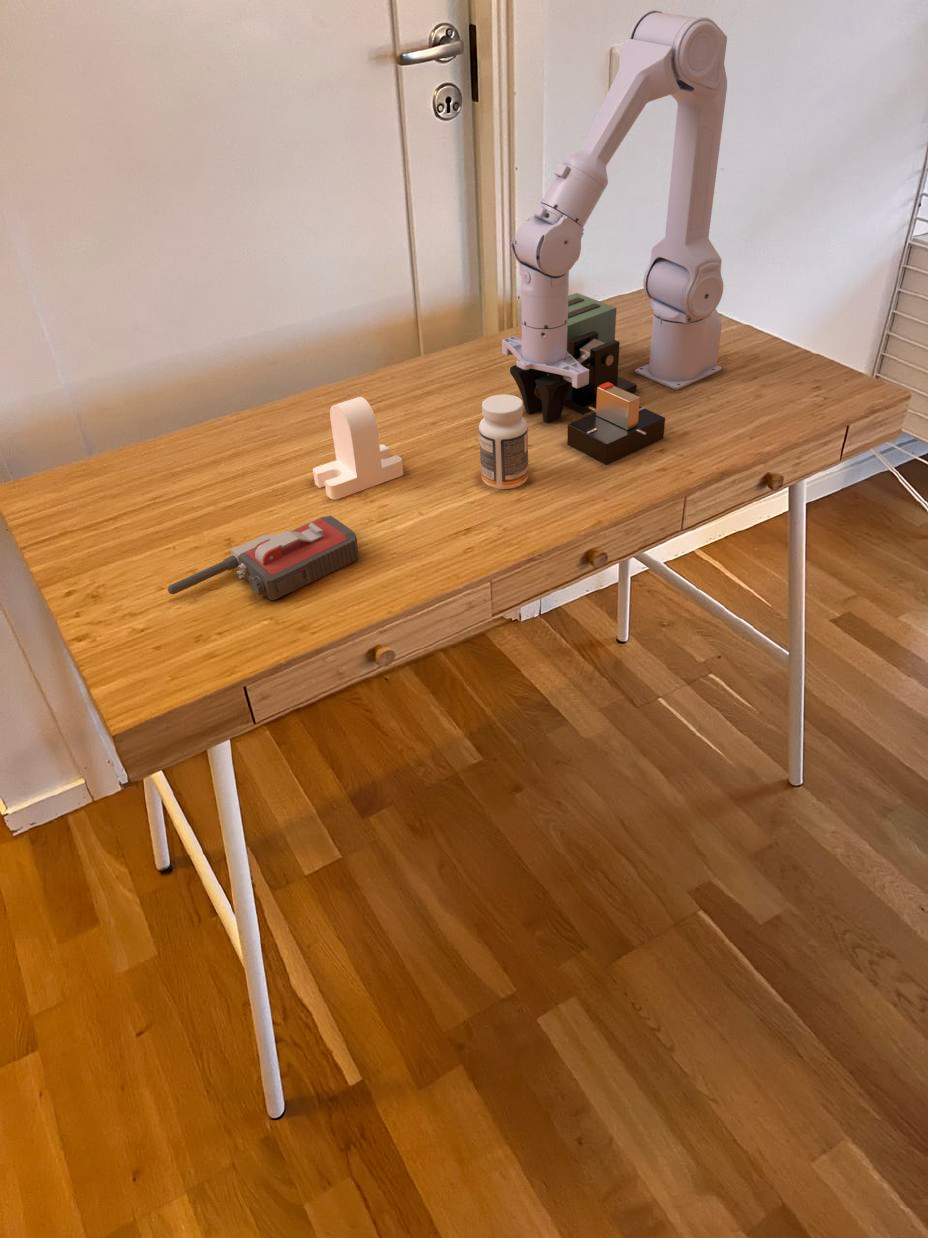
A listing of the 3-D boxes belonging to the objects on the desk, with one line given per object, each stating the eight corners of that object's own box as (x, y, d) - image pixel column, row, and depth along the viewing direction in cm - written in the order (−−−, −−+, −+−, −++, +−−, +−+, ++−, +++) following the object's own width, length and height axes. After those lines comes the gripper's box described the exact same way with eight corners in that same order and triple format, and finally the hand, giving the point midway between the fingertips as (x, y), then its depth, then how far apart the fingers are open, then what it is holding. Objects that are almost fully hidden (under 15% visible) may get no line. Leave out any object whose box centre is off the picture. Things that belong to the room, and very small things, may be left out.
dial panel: (616, 416, 126) (617, 394, 124) (671, 443, 120) (674, 420, 118) (559, 441, 121) (560, 419, 119) (614, 470, 115) (615, 447, 113)
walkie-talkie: (327, 523, 109) (166, 597, 100) (322, 489, 106) (156, 562, 97) (372, 555, 104) (206, 636, 94) (367, 521, 101) (196, 601, 91)
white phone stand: (405, 474, 117) (397, 398, 111) (333, 500, 113) (321, 423, 107) (383, 457, 120) (375, 383, 114) (313, 482, 116) (300, 406, 110)
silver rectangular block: (638, 425, 117) (640, 395, 115) (627, 430, 117) (629, 399, 114) (605, 410, 121) (607, 380, 118) (595, 415, 120) (596, 385, 117)
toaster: (575, 352, 142) (576, 291, 137) (613, 369, 137) (616, 306, 131) (526, 371, 138) (526, 308, 132) (564, 389, 133) (565, 325, 127)
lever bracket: (583, 415, 127) (584, 359, 122) (547, 398, 131) (548, 343, 126) (636, 392, 131) (640, 337, 126) (600, 376, 136) (603, 322, 131)
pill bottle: (529, 467, 117) (529, 391, 111) (527, 491, 112) (526, 414, 106) (483, 466, 117) (480, 391, 111) (478, 491, 113) (475, 414, 107)
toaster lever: (545, 408, 124) (541, 388, 122) (530, 400, 126) (526, 381, 124) (610, 361, 128) (607, 341, 126) (595, 354, 130) (591, 335, 128)
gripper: (482, 312, 122) (485, 410, 130) (560, 346, 112) (557, 449, 121) (525, 298, 125) (525, 395, 133) (603, 330, 116) (598, 431, 124)
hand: (543, 420), depth 127 cm, fingers open, 3 cm apart
